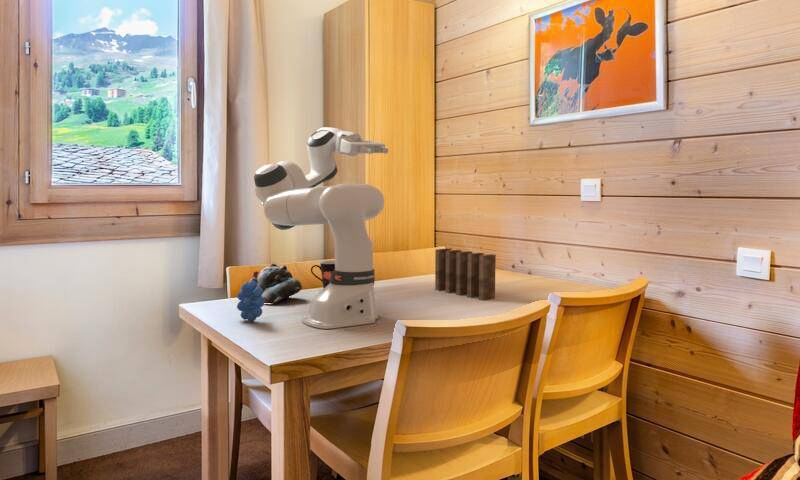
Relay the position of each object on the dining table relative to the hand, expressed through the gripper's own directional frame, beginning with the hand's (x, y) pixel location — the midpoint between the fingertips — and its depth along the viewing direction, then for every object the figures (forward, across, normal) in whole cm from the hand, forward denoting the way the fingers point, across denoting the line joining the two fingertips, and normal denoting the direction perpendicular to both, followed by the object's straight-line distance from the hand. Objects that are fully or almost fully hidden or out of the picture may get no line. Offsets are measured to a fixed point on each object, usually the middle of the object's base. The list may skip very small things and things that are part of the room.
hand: (379, 151), depth 206 cm
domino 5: (+54, -1, -40) cm, 67 cm away
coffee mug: (-2, +16, -52) cm, 54 cm away
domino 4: (+48, -3, -41) cm, 63 cm away
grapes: (+14, +65, -45) cm, 81 cm away
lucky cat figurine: (-1, +42, -50) cm, 66 cm away
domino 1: (+33, -7, -45) cm, 56 cm away
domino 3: (+43, -4, -42) cm, 61 cm away
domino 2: (+38, -6, -44) cm, 58 cm away
